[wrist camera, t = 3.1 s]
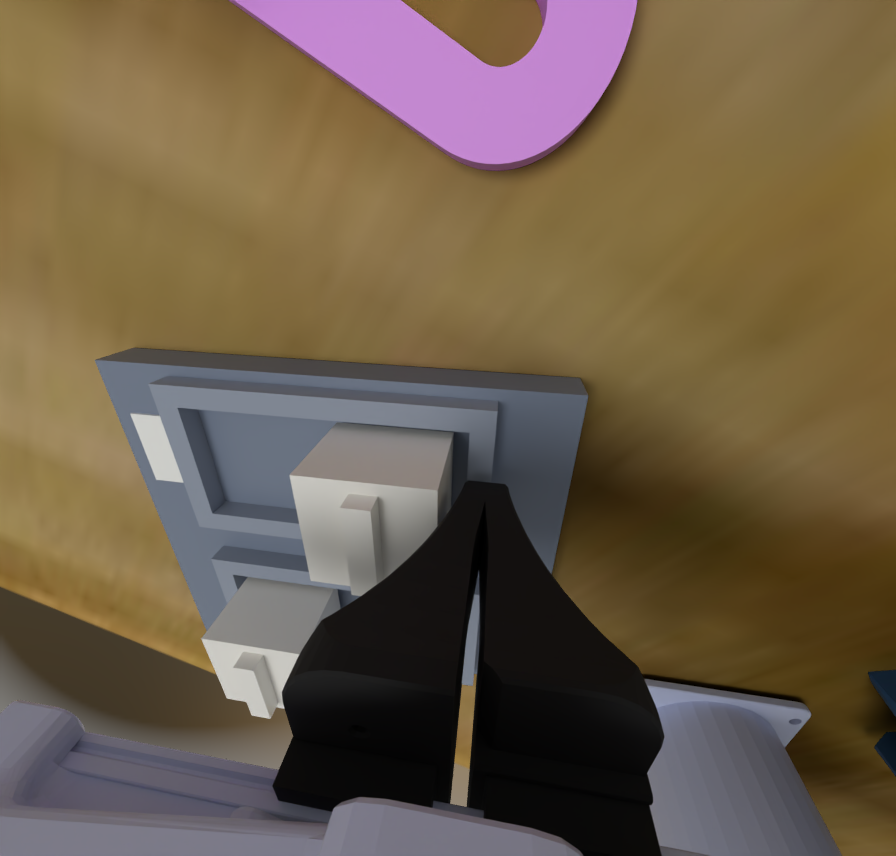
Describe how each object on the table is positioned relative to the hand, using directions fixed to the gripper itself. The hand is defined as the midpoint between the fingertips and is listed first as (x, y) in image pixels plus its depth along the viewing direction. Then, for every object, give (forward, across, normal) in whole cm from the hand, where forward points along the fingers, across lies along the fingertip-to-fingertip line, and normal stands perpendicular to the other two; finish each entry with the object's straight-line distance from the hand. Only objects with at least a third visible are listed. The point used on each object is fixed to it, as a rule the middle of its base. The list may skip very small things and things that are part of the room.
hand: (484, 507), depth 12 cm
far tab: (+1, +8, +8) cm, 12 cm away
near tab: (+1, +3, 0) cm, 3 cm away
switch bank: (+3, +6, +4) cm, 8 cm away
